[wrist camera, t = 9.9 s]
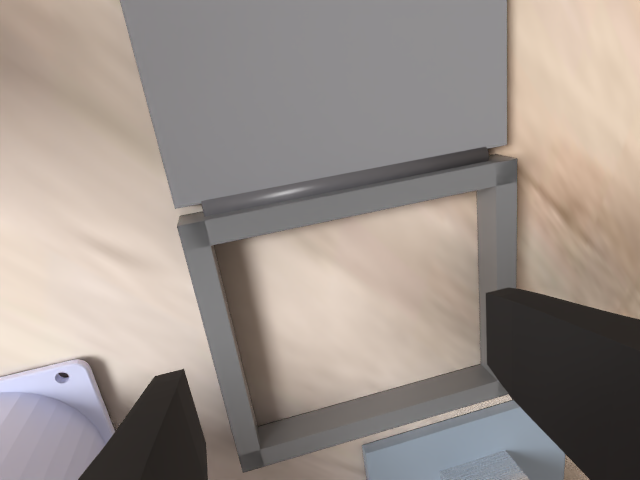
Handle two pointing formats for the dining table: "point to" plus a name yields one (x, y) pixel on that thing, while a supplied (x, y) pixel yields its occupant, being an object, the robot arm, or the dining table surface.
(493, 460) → the block
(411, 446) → the pad
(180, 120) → the hinged gray frame
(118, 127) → the dining table surface
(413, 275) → the dining table surface
